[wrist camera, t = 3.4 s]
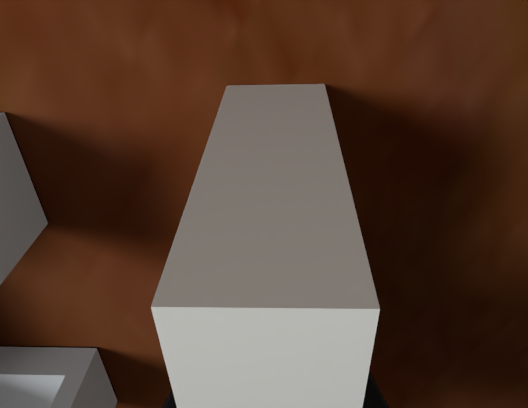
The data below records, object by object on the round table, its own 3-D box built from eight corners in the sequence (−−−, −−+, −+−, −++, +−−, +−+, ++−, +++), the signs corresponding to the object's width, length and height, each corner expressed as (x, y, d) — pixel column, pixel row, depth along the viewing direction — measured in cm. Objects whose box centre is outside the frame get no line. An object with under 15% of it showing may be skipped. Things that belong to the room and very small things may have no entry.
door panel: (227, 85, 9) (150, 306, 4) (324, 83, 9) (380, 308, 4) (253, 410, 15) (238, 644, 10) (308, 411, 15) (319, 648, 10)
